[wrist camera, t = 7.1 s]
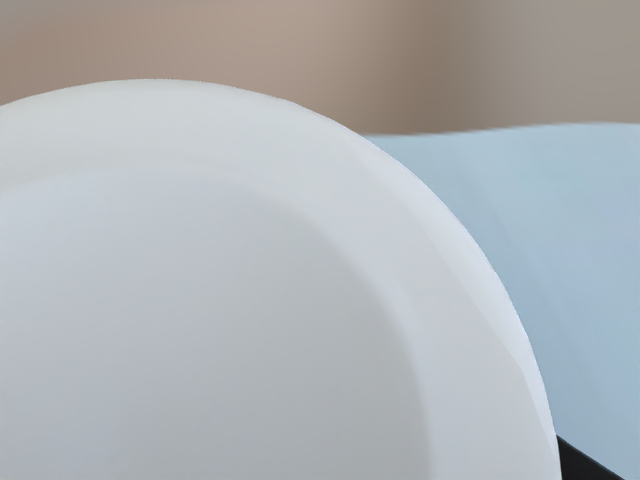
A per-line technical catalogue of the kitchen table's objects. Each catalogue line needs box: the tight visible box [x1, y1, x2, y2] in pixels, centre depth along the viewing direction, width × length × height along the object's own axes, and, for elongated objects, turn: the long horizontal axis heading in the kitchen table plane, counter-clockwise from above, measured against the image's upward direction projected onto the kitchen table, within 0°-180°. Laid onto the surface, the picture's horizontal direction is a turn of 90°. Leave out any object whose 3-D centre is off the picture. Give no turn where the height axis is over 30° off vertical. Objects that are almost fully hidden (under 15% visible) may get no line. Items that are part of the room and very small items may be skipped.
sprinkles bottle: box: [0, 79, 562, 480], centre depth 9 cm, size 5×5×14 cm
